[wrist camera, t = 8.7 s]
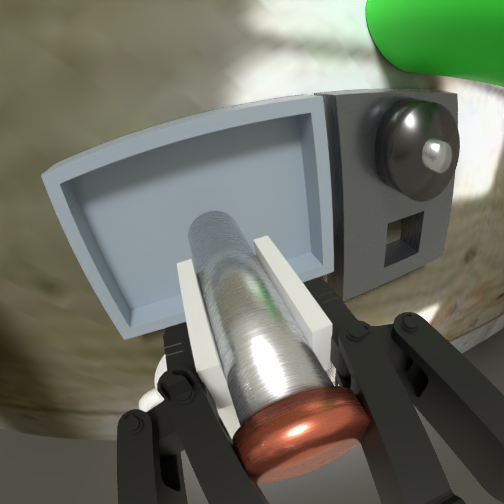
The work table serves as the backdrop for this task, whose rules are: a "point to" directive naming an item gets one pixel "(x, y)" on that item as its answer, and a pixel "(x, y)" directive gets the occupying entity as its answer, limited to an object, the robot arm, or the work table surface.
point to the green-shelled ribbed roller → (441, 36)
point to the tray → (195, 200)
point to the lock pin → (268, 362)
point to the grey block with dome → (388, 181)
